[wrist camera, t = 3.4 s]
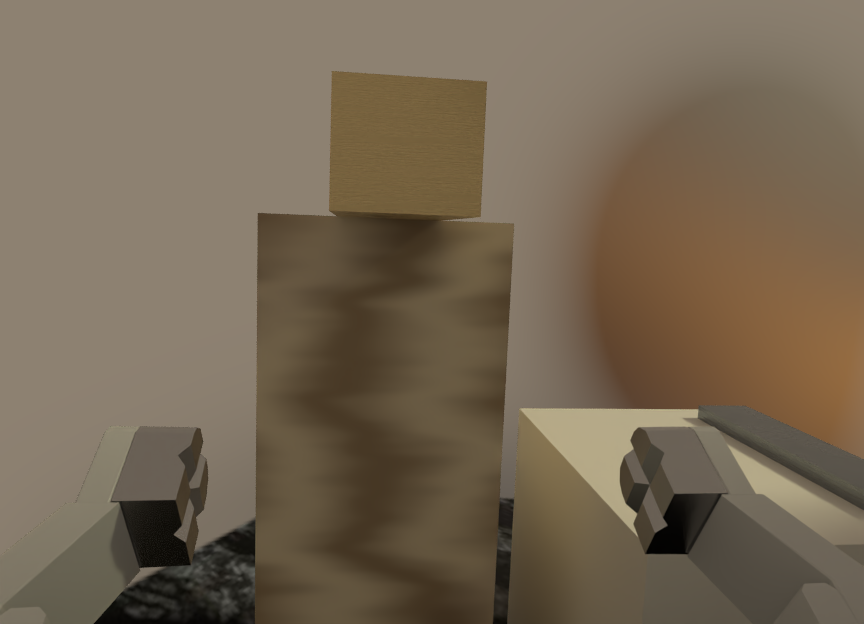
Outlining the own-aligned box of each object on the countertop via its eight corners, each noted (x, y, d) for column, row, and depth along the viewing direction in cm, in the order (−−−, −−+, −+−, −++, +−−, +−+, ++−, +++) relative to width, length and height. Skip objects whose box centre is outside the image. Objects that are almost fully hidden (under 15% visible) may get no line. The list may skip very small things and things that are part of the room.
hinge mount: (712, 628, 44) (734, 397, 42) (953, 899, 26) (1011, 520, 24) (506, 636, 42) (520, 395, 40) (616, 930, 25) (650, 526, 23)
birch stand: (441, 624, 43) (458, 225, 40) (482, 809, 30) (514, 223, 26) (286, 629, 42) (291, 218, 39) (253, 824, 28) (257, 213, 25)
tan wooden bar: (410, 223, 39) (412, 163, 39) (480, 216, 18) (486, 81, 17) (342, 220, 39) (344, 159, 38) (329, 210, 17) (331, 71, 17)
